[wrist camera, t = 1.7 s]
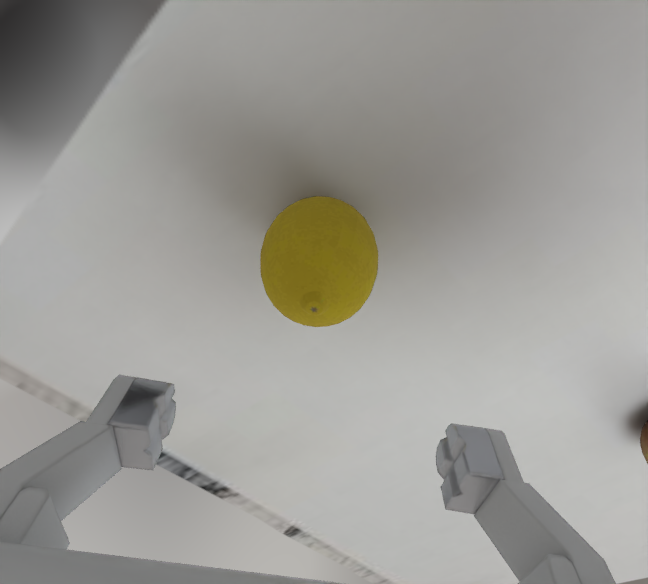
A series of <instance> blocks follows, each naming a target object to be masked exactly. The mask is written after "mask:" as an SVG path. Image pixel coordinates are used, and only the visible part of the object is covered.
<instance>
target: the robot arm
mask: <svg viewBox="0 0 648 584" xmlns="http://www.w3.org/2000/svg"><path fill="white" fill-rule="evenodd" d="M174 393H175V389H174V384H172V383H166V382H161V381H155V380H149V379H143V378H137V377H131V376H124V375H119V376H117V377H116V378H115V379H114V380H113V382H112V383H111V385H110V386H109V388H108V389H107V391H106V392H105V394H104V395H103V397H102V398H101V400H100V401H99V403H98V404H97V406H96V407H95V409H94V410H93V412H92V413H91V415H90V417H89V418H88V420H87V421H86V422H83V421H80V422H78V423H77V424H75V425H73V426H72V427H70V428H68V429H67V430H65V431H63V432H62V433H60V434H58V435H57V436H55V437H53V438H51V439H50V440H48V441H46V442H45V443H43V444H41V445H40V446H38V447H36V448H35V449H33V450H31V451H30V452H28V453H26V454H25V455H23V456H21V457H20V458H18V459H16V460H15V461H13V462H11V463H10V464H8V465H6V466H5V467H3V468H1V469H0V584H344V583H336V582H328V581H320V580H312V579H303V578H295V577H287V576H279V575H271V574H262V573H254V572H246V571H238V570H230V569H221V568H213V567H204V566H196V565H189V564H180V563H172V562H163V561H156V560H148V559H139V558H131V557H123V556H115V555H106V554H98V553H90V552H81V551H74V550H66V549H67V547H68V545H69V540H68V537H67V534H66V532H65V530H64V527H63V525H62V523H61V521H62V520H63V519H64V518H65V517H66V516H67V515H69V514H70V513H71V512H72V511H73V510H74V509H76V508H77V507H78V506H79V505H80V504H81V503H82V502H84V501H85V500H86V499H87V498H88V497H90V496H91V495H92V494H93V493H94V492H95V491H97V490H98V489H99V488H100V487H101V486H102V485H103V484H105V483H106V482H107V481H108V480H109V479H110V478H112V477H113V476H114V475H115V474H116V473H118V472H119V471H120V470H121V467H126V468H136V469H145V470H153V469H154V467H155V465H156V463H157V460H158V458H159V456H160V454H161V451H162V449H163V448H162V439H164V438H165V437H166V436H168V435H169V433H170V430H171V428H172V425H173V421H174V418H175V411H176V402H175V401H174V400H173V399H172V397H173V395H174ZM446 435H447V437H446V438H444V439H442V440H440V442H439V445H438V447H437V452H436V465H437V471H438V473H439V474H440V475H441V477H442V478H443V479H444V482H443V484H442V486H441V490H442V495H443V500H444V504H445V509H446V510H452V511H458V512H464V513H470V514H475V515H474V517H475V518H476V519H477V521H478V522H479V524H480V525H481V527H482V528H483V530H484V531H485V532H486V534H487V535H488V537H489V538H490V540H491V541H492V542H493V544H494V545H495V547H496V548H497V550H498V551H499V553H500V554H501V555H502V557H503V558H504V560H505V561H506V563H507V564H508V565H509V567H510V568H511V570H512V571H513V573H514V574H515V576H516V577H517V578H518V580H519V581H520V582H519V583H518V584H616V583H615V581H614V579H613V577H612V575H611V573H610V571H609V569H608V567H607V564H606V562H605V560H604V559H603V558H602V557H601V556H600V555H599V554H598V553H597V552H596V551H595V550H594V549H593V548H592V547H591V546H590V545H589V544H588V543H587V542H586V541H585V540H584V539H583V538H582V537H581V536H580V535H579V534H578V533H577V532H576V531H575V530H574V529H573V528H572V527H571V526H570V525H569V524H568V523H567V522H566V521H565V520H564V519H563V518H562V517H561V516H560V515H559V514H558V512H557V511H556V510H555V509H554V508H553V507H552V506H551V505H550V504H549V503H548V502H547V501H546V500H545V499H544V498H543V497H542V496H541V495H540V494H539V493H538V492H537V491H536V490H535V489H534V488H533V487H532V486H531V485H530V484H529V483H524V482H523V479H522V477H521V474H520V472H519V469H518V466H517V464H516V461H515V459H514V456H513V454H512V451H511V449H510V446H509V444H508V441H507V439H506V436H505V434H504V433H503V432H502V431H500V430H493V429H486V428H482V427H474V426H467V425H459V424H450V425H449V426H448V427H447V429H446Z"/></svg>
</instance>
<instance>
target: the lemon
mask: <svg viewBox="0 0 648 584" xmlns="http://www.w3.org/2000/svg"><path fill="white" fill-rule="evenodd" d="M377 270H378V250H377V245H376V241H375V237H374V234H373V232H372V230H371V228H370V226H369V225H368V223H367V221H366V220H365V218H364V217H363V216H362V215H361V214H360V213H359V212H358V211H357V210H356V209H355V208H354V207H352V206H351V205H349V204H347V203H345V202H344V201H342V200H338V199H335V198H331V197H321V196H314V197H310V198H305V199H301V200H299V201H297V202H295V203H293V204H291V205H289V206H288V207H287V208H286V209H285V210H283V211H282V212H281V213H280V214H279V215H278V216H277V217H276V218H275V220H274V221H273V223H272V225H271V226H270V228H269V229H268V231H267V233H266V236H265V239H264V242H263V246H262V249H261V277H262V281H263V284H264V288H265V291H266V293H267V295H268V297H269V299H270V300H271V302H272V304H273V305H274V306H275V307H276V308H277V309H278V310H279V311H280V312H281V313H282V314H283V315H284V316H286V317H287V318H289V319H291V320H292V321H294V322H297V323H300V324H303V325H307V326H314V327H322V326H330V325H334V324H338V323H340V322H342V321H344V320H346V319H348V318H350V317H351V316H352V315H353V314H355V313H356V312H357V311H358V310H359V309H360V308H361V307H362V306H363V304H364V303H365V301H366V300H367V298H368V297H369V295H370V293H371V291H372V288H373V285H374V282H375V279H376V276H377Z"/></svg>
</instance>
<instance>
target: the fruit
mask: <svg viewBox="0 0 648 584" xmlns="http://www.w3.org/2000/svg"><path fill="white" fill-rule="evenodd" d="M640 443H641V448H642V453H643V455H644V457H645V459H646V461H647V463H648V421H647V422H646V423H645V425H644V426H643V428H642V431H641V437H640Z"/></svg>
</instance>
